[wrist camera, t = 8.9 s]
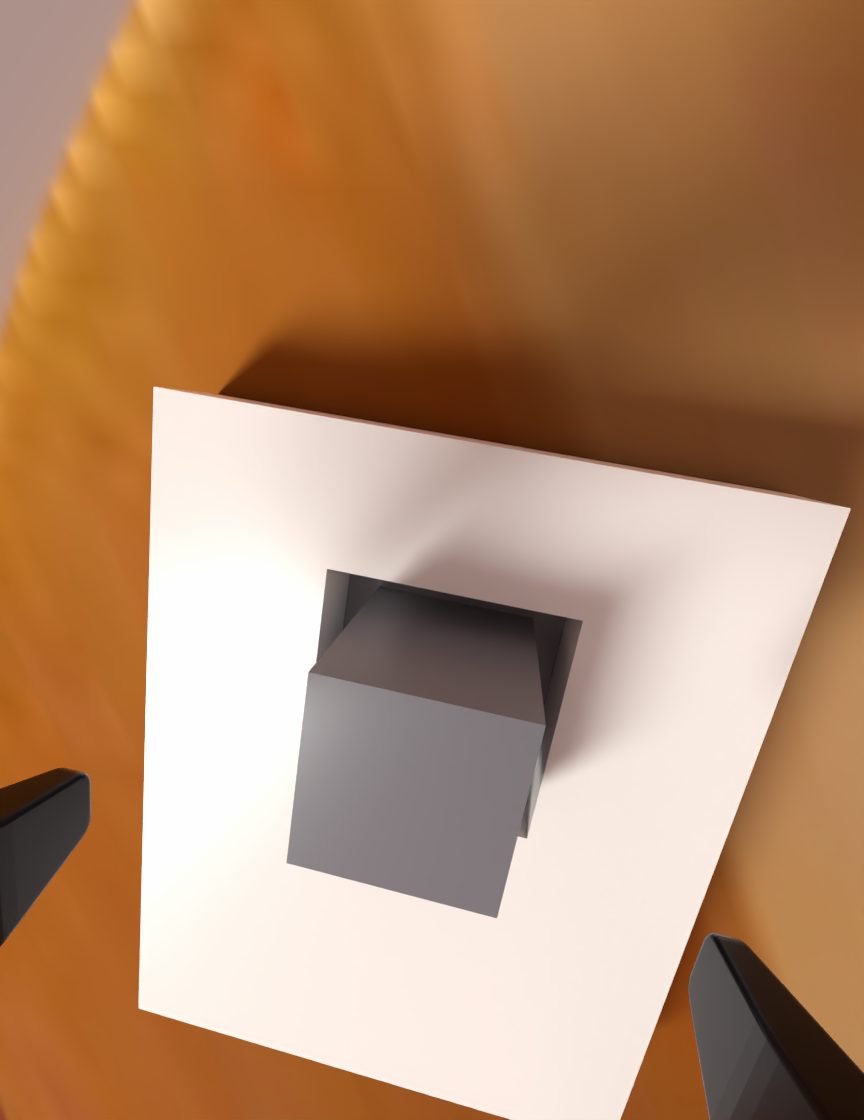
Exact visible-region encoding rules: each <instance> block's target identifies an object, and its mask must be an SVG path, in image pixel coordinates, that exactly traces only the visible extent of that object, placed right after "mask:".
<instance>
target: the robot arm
mask: <svg viewBox="0 0 864 1120" xmlns="http://www.w3.org/2000/svg"><path fill="white" fill-rule="evenodd" d="M90 818H91V785H90V778H89V776H88V775H87V774H86V773H84V772H80V771H76V770H72V769H68V768H57V769H54V770H51V771H48V772H46V773H43V774H40V775H37V776H34V777H32V778H29V779H26V780H23V781H20V782H18V783H15V784H12V785H9V786H7V787H4V788H1V789H0V946H1V945H2V944H3V943H4V942H5V940H6V939H7V938H8V936H9V935H10V934H11V933H12V931H13V930H14V929H15V928H16V926H17V925H18V924H19V922H20V921H21V920H22V918H23V917H24V916H25V914H26V913H27V912H28V910H29V909H30V908H31V906H32V905H33V904H34V902H35V901H36V899H37V898H38V897H39V895H40V894H41V893H42V891H43V890H44V889H45V887H46V886H47V885H48V883H49V882H50V881H51V879H52V878H53V877H54V875H55V874H56V873H57V871H58V870H59V869H60V867H61V866H62V864H63V863H64V862H65V860H66V859H67V858H68V856H69V855H70V854H71V852H72V851H73V850H74V848H75V847H76V846H77V844H78V843H79V842H80V840H81V839H82V837H83V836H84V834H85V833H86V831H87V829H88V826H89V823H90ZM689 1000H690V1006H691V1012H692V1018H693V1024H694V1030H695V1036H696V1042H697V1047H698V1053H699V1059H700V1065H701V1071H702V1077H703V1083H704V1089H705V1095H706V1101H707V1107H708V1113H709V1119H710V1120H864V1073H863V1072H862V1071H861V1070H860V1069H859V1067H858V1066H857V1065H856V1064H855V1063H854V1062H853V1061H852V1060H851V1059H850V1058H849V1056H848V1055H847V1054H846V1053H845V1052H844V1051H843V1050H842V1049H841V1048H840V1047H839V1045H838V1044H837V1043H836V1042H835V1041H834V1040H833V1039H832V1038H831V1037H830V1036H829V1034H828V1033H827V1032H826V1031H825V1030H824V1029H823V1028H822V1027H821V1026H820V1025H819V1023H818V1022H817V1021H816V1020H815V1019H814V1018H813V1017H812V1016H811V1015H810V1013H809V1012H808V1011H807V1010H806V1009H805V1008H804V1007H803V1006H802V1005H801V1004H800V1002H799V1001H798V1000H797V999H796V998H795V997H794V996H793V995H792V994H791V993H790V991H789V990H788V989H787V988H786V987H785V986H784V985H783V984H782V983H781V982H780V980H779V979H778V978H777V977H776V976H775V975H774V974H773V973H772V972H771V971H770V969H769V968H768V967H767V966H766V965H765V964H764V963H763V962H762V961H761V959H760V958H759V957H758V956H757V955H756V954H755V953H754V952H753V951H752V950H751V948H750V947H749V946H748V945H747V944H745V943H744V942H743V941H741V940H739V939H736V938H732V937H729V936H725V935H721V934H717V933H710V934H708V935H707V936H706V938H705V940H704V942H703V944H702V947H701V949H700V952H699V955H698V957H697V960H696V962H695V965H694V967H693V970H692V972H691V975H690V980H689Z"/></svg>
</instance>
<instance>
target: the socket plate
mask: <svg viewBox="0 0 864 1120" xmlns="http://www.w3.org/2000/svg"><path fill="white" fill-rule="evenodd" d="M850 510H851V508H847V507H843V506H839V505H835V504H830V503H826V502H822V501H818V500H814V499H809V498H805V497H801V496H797V495H792V494H788V493H784V492H778V491H772V490H767V489H761V488H755V487H749V486H744V485H738V484H732V483H726V482H721V481H715V480H709V479H703V478H698V477H692V476H686V475H680V474H675V473H669V472H663V471H657V470H652V469H646V468H640V467H634V466H629V465H623V464H617V463H611V462H606V461H600V460H594V459H588V458H583V457H577V456H571V455H565V454H559V453H554V452H548V451H542V450H536V449H531V448H525V447H519V446H513V445H508V444H502V443H496V442H490V441H485V440H479V439H473V438H467V437H462V436H456V435H450V434H444V433H439V432H433V431H427V430H421V429H416V428H410V427H404V426H398V425H393V424H387V423H381V422H375V421H370V420H364V419H358V418H352V417H347V416H341V415H335V414H329V413H324V412H318V411H312V410H306V409H301V408H295V407H289V406H283V405H278V404H272V403H266V402H260V401H255V400H249V399H243V398H237V397H232V396H226V395H220V394H213V393H204V392H196V391H187V390H178V389H170V388H161V387H154V392H153V434H152V475H151V516H150V558H149V599H148V641H147V682H146V724H145V765H144V806H143V848H142V889H141V931H140V972H139V1009H142V1010H146V1011H149V1012H152V1013H156V1014H159V1015H162V1016H166V1017H169V1018H173V1019H176V1020H179V1021H183V1022H186V1023H189V1024H193V1025H196V1026H199V1027H203V1028H206V1029H209V1030H213V1031H216V1032H219V1033H223V1034H226V1035H229V1036H233V1037H236V1038H240V1039H243V1040H246V1041H250V1042H253V1043H256V1044H260V1045H263V1046H266V1047H270V1048H273V1049H276V1050H280V1051H283V1052H286V1053H290V1054H293V1055H296V1056H300V1057H303V1058H306V1059H310V1060H313V1061H317V1062H320V1063H323V1064H327V1065H330V1066H333V1067H337V1068H340V1069H343V1070H347V1071H350V1072H353V1073H357V1074H360V1075H363V1076H367V1077H370V1078H373V1079H377V1080H380V1081H383V1082H387V1083H390V1084H394V1085H397V1086H400V1087H404V1088H407V1089H410V1090H414V1091H417V1092H420V1093H424V1094H427V1095H430V1096H434V1097H437V1098H440V1099H444V1100H447V1101H450V1102H454V1103H457V1104H461V1105H464V1106H467V1107H471V1108H474V1109H477V1110H481V1111H484V1112H487V1113H491V1114H494V1115H497V1116H501V1117H504V1118H507V1119H511V1120H620V1119H621V1116H622V1113H623V1111H624V1108H625V1105H626V1103H627V1100H628V1097H629V1095H630V1092H631V1089H632V1087H633V1084H634V1081H635V1079H636V1076H637V1074H638V1071H639V1068H640V1066H641V1063H642V1060H643V1058H644V1055H645V1052H646V1050H647V1047H648V1044H649V1042H650V1039H651V1036H652V1034H653V1031H654V1028H655V1026H656V1023H657V1021H658V1018H659V1015H660V1013H661V1010H662V1007H663V1005H664V1002H665V999H666V997H667V994H668V991H669V989H670V986H671V983H672V981H673V978H674V976H675V973H676V970H677V968H678V965H679V962H680V960H681V957H682V954H683V952H684V949H685V946H686V944H687V941H688V938H689V936H690V933H691V931H692V928H693V925H694V923H695V920H696V917H697V915H698V912H699V909H700V907H701V904H702V901H703V899H704V896H705V893H706V891H707V888H708V886H709V883H710V880H711V878H712V875H713V872H714V870H715V867H716V864H717V862H718V859H719V856H720V854H721V851H722V848H723V846H724V843H725V841H726V838H727V835H728V833H729V830H730V827H731V825H732V822H733V819H734V817H735V814H736V811H737V809H738V806H739V803H740V801H741V798H742V796H743V793H744V790H745V788H746V785H747V782H748V780H749V777H750V774H751V772H752V769H753V766H754V764H755V761H756V758H757V756H758V753H759V750H760V748H761V745H762V743H763V740H764V737H765V735H766V732H767V729H768V727H769V724H770V721H771V719H772V716H773V713H774V711H775V708H776V705H777V703H778V700H779V698H780V695H781V692H782V690H783V687H784V684H785V682H786V679H787V676H788V674H789V671H790V668H791V666H792V663H793V660H794V658H795V655H796V653H797V650H798V647H799V645H800V642H801V639H802V637H803V634H804V631H805V629H806V626H807V623H808V621H809V618H810V615H811V613H812V610H813V608H814V605H815V602H816V600H817V597H818V594H819V592H820V589H821V586H822V584H823V581H824V578H825V576H826V573H827V570H828V568H829V565H830V563H831V560H832V557H833V555H834V552H835V549H836V547H837V544H838V541H839V539H840V536H841V533H842V531H843V528H844V525H845V523H846V520H847V518H848V515H849V512H850ZM379 586H380V587H384V588H389V589H394V590H399V591H404V592H409V593H414V594H418V595H423V596H428V597H433V598H438V599H443V600H447V601H452V602H457V603H462V604H467V605H472V606H476V607H481V608H486V609H491V610H496V611H501V612H506V613H510V614H515V615H520V616H525V617H530V618H533V621H534V629H535V638H536V646H537V655H538V663H539V672H540V680H541V689H542V698H543V706H544V715H545V723H546V727H545V731H544V735H543V739H542V743H541V746H540V750H539V754H538V758H537V762H536V766H535V770H534V774H533V778H532V782H531V786H530V790H529V794H528V798H527V802H526V806H525V810H524V814H523V818H522V822H521V826H520V829H519V833H518V837H517V841H516V845H515V849H514V853H513V857H512V861H511V865H510V869H509V873H508V877H507V881H506V885H505V889H504V893H503V897H502V901H501V905H500V909H499V912H498V916H497V918H493V917H490V916H486V915H482V914H478V913H474V912H471V911H467V910H463V909H459V908H455V907H452V906H448V905H444V904H440V903H436V902H433V901H429V900H425V899H421V898H417V897H414V896H410V895H406V894H402V893H398V892H395V891H391V890H387V889H383V888H379V887H376V886H372V885H368V884H364V883H360V882H357V881H353V880H349V879H345V878H341V877H338V876H334V875H330V874H326V873H323V872H319V871H315V870H311V869H307V868H304V867H300V866H296V865H292V864H288V863H286V862H287V853H288V845H289V836H290V827H291V818H292V810H293V801H294V792H295V784H296V775H297V766H298V757H299V749H300V740H301V731H302V723H303V714H304V705H305V696H306V688H307V679H308V672H309V671H310V669H311V668H312V667H313V666H314V665H315V663H316V662H317V661H318V660H319V659H320V657H321V656H322V655H323V654H324V653H325V651H326V650H327V649H328V648H329V646H330V645H331V644H332V643H333V642H334V640H335V639H336V638H337V637H338V636H339V634H340V633H341V632H342V631H343V630H344V628H345V627H346V626H347V625H348V624H349V622H350V621H351V620H352V619H353V618H354V616H355V615H356V614H357V613H358V612H359V610H360V609H361V608H362V607H363V606H364V604H365V603H366V602H367V601H368V599H369V598H370V597H371V596H372V595H373V593H374V592H375V591H376V590H377V589H378V587H379Z"/></svg>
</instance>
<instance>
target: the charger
mask: <svg viewBox="0 0 864 1120" xmlns="http://www.w3.org/2000/svg"><path fill="white" fill-rule="evenodd" d="M545 727H546V723H545V715H544V706H543V698H542V689H541V680H540V672H539V663H538V655H537V646H536V638H535V629H534V621H533V618H530V617H525V616H520V615H515V614H510V613H506V612H501V611H496V610H491V609H486V608H481V607H476V606H472V605H467V604H462V603H457V602H452V601H447V600H443V599H438V598H433V597H428V596H423V595H418V594H414V593H409V592H404V591H399V590H394V589H389V588H384V587H380V586H379V587H378V589H377V590H376V591H375V592H374V593H373V595H372V596H371V597H370V598H369V599H368V601H367V602H366V603H365V604H364V606H363V607H362V608H361V609H360V610H359V612H358V613H357V614H356V615H355V616H354V618H353V619H352V620H351V621H350V622H349V624H348V625H347V626H346V627H345V628H344V630H343V631H342V632H341V633H340V634H339V636H338V637H337V638H336V639H335V640H334V642H333V643H332V644H331V645H330V646H329V648H328V649H327V650H326V651H325V653H324V654H323V655H322V656H321V657H320V659H319V660H318V661H317V662H316V663H315V665H314V666H313V667H312V668H311V669H310V671H309V672H308V679H307V688H306V696H305V705H304V714H303V723H302V731H301V740H300V749H299V757H298V766H297V775H296V784H295V792H294V801H293V810H292V818H291V827H290V836H289V845H288V853H287V862H286V863H288V864H292V865H296V866H300V867H304V868H307V869H311V870H315V871H319V872H323V873H326V874H330V875H334V876H338V877H341V878H345V879H349V880H353V881H357V882H360V883H364V884H368V885H372V886H376V887H379V888H383V889H387V890H391V891H395V892H398V893H402V894H406V895H410V896H414V897H417V898H421V899H425V900H429V901H433V902H436V903H440V904H444V905H448V906H452V907H455V908H459V909H463V910H467V911H471V912H474V913H478V914H482V915H486V916H490V917H493V918H497V916H498V912H499V909H500V905H501V901H502V897H503V893H504V889H505V885H506V881H507V877H508V873H509V869H510V865H511V861H512V857H513V853H514V849H515V845H516V841H517V837H518V833H519V829H520V826H521V822H522V818H523V814H524V810H525V806H526V802H527V798H528V794H529V790H530V786H531V782H532V778H533V774H534V770H535V766H536V762H537V758H538V754H539V750H540V746H541V743H542V739H543V735H544V731H545Z"/></svg>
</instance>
